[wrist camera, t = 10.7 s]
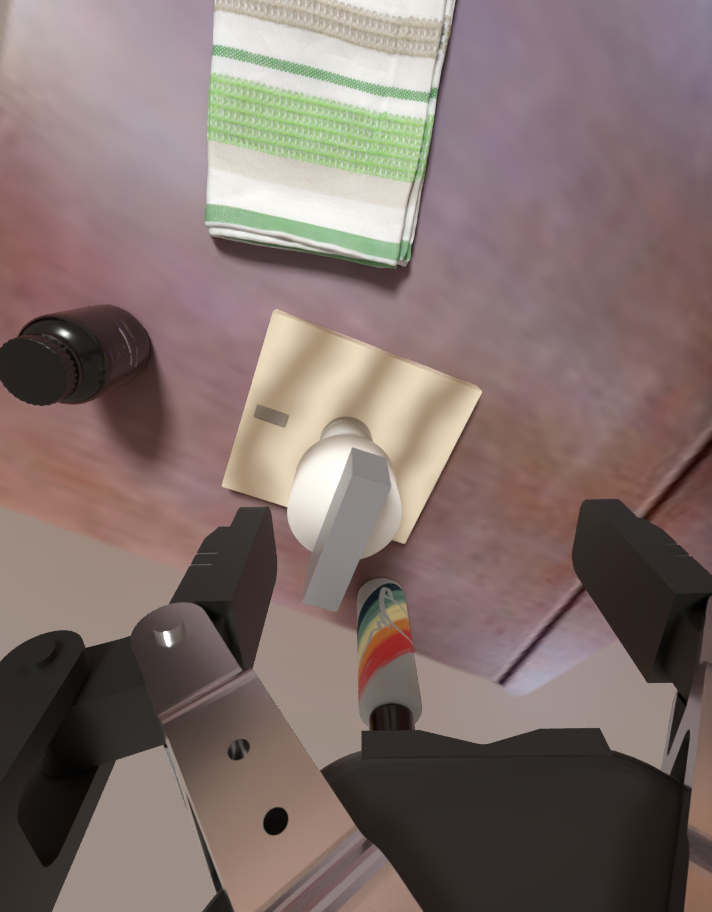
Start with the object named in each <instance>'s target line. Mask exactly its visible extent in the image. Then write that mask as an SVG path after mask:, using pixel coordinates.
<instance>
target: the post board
mask: <svg viewBox="0 0 712 912" xmlns="http://www.w3.org/2000/svg"><path fill="white" fill-rule="evenodd" d="M481 393H482V391H481V390H480V389H479V388H478V387H477V386H476V385H473V384H471V383H468V382H466V381H463V380H460V379H458V378H455V377H453V376H450V375H447V374H445V373H442V372H439V371H437V370H434V369H432V368H429V367H426V366H424V365H421V364H419V363H416V362H413V361H411V360H408V359H406V358H403V357H400V356H398V355H395V354H393V353H390V352H387V351H385V350H382V349H380V348H377V347H374V346H372V345H369V344H367V343H364V342H361V341H359V340H356V339H354V338H351V337H348V336H346V335H343V334H341V333H338V332H335V331H333V330H330V329H328V328H325V327H322V326H320V325H317V324H315V323H312V322H309V321H307V320H304V319H302V318H299V317H296V316H294V315H291V314H289V313H286V312H283V311H281V310H278V309H276V310H274V311H273V313H272V317H271V320H270V324H269V327H268V330H267V334H266V337H265V341H264V344H263V347H262V351H261V354H260V358H259V361H258V364H257V368H256V371H255V374H254V378H253V381H252V385H251V388H250V391H249V395H248V398H247V402H246V405H245V408H244V412H243V415H242V419H241V422H240V425H239V429H238V432H237V436H236V439H235V442H234V446H233V449H232V453H231V456H230V459H229V463H228V466H227V469H226V473H225V476H224V480H223V483H222V487H225V488H228V489H231V490H235V491H238V492H241V493H244V494H247V495H250V496H254V497H257V498H260V499H263V500H266V501H269V502H273V503H276V504H279V505H282V506H285V507H288V502H289V498H290V494H291V490H292V486H293V481H294V477H295V473H296V469H297V466H298V463H299V461H300V459H301V457H302V456H303V454H304V453H305V452H306V451H307V450H308V449H309V448H310V447H311V446H312V445H314V444H315V443H317V442H318V441H320V440H322V439H325V438H327V437H331V436H335V435H356V436H360V437H363V438H366V439H368V440H370V441H372V442H374V443H375V444H377V445H378V446H379V447H381V448H382V449H383V450H384V451H385V453H386V454H387V455H388V456H389V458H390V460H391V462H392V464H393V467H394V470H395V475H396V480H397V485H398V490H399V495H400V500H401V506H402V518H401V523H400V526H399V529H398V531H397V533H396V535H395V536H394V538H393V539H392V540H393V541H396V542H399V543H403V544H405V543H406V541H407V539H408V537H409V535H410V533H411V531H412V529H413V527H414V525H415V523H416V521H417V519H418V517H419V515H420V513H421V511H422V509H423V507H424V505H425V503H426V501H427V499H428V497H429V495H430V494H431V492H432V490H433V488H434V486H435V484H436V482H437V480H438V478H439V476H440V474H441V472H442V470H443V468H444V466H445V464H446V462H447V460H448V458H449V456H450V454H451V452H452V450H453V448H454V446H455V444H456V442H457V440H458V438H459V436H460V435H461V433H462V431H463V429H464V427H465V425H466V423H467V421H468V419H469V417H470V415H471V413H472V411H473V409H474V407H475V405H476V403H477V401H478V399H479V397H480V395H481Z"/></svg>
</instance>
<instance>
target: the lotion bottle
mask: <svg viewBox="0 0 712 912" xmlns="http://www.w3.org/2000/svg"><path fill="white" fill-rule="evenodd" d="M357 642H358V695H359V696H358V697H359V713H360V717H361V719H362V721H363V722H364V723H365V724H366V725H367V726H368V727H369V730H370V731H387V730H415V725H414V724H415V723H416V722H417V721H418V719H419V718H420V716H421V712H422V704H421V696H420V690H419V683H418V677H417V670H416V664H415V658H414V651H413V644H412V638H411V632H410V625H409V619H408V612H407V606H406V600H405V595H404V592H403V590H402V588H401V586H400V585H399V584H398V583H396V582H395V581H393V580H390V579H386V578H376V579H372V580H370V581H368V582H366V583H365V584H364V585H363V586H362V587H361V588H360V590H359V592H358V595H357Z"/></svg>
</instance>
